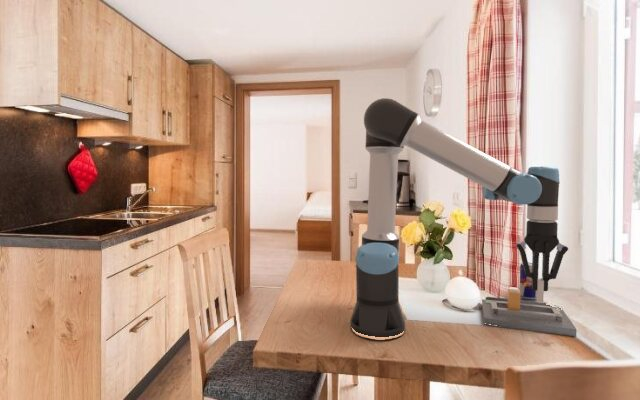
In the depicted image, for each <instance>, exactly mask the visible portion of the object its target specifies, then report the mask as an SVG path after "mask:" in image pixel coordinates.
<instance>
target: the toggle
mask: <svg viewBox="0 0 640 400" xmlns="http://www.w3.org/2000/svg"><path fill="white" fill-rule="evenodd" d="M520 294H521V293H520V289H519V288H518V287H513V286H509V288H507V294H506V295H507V298H506V299H507V308H508V309H517V310H520V300H521V298H520Z"/></svg>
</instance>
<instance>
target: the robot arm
mask: <svg viewBox="0 0 640 400" xmlns="http://www.w3.org/2000/svg"><path fill="white" fill-rule="evenodd" d="M363 124H364V129H365V150H366V151H367V152H368V153H369V174H368V199H367V224H366V226H367V227H366V231H365V232H364V233H362V234H361V245H360V246H359V247H358V248H357V249H356V253H355V258H354V259H355V264H356V265H355V267H356V268H355V269H356V271H355V274H356V276H355V278H356V302H355V304H354V308H353V312H352V314H351V317H350V328H351V327H352V328H353V329H354V330H355V331H356V332H358V333H361V334H364V335H368V336H375V337H389V336H395V335H398V334H400V333H402V332H403V331H404V330H405V331H406V321H405V319H404V316H403V313H402V310H401V306H400V304H399V303H400V302H399V292H400V291H399V264H400V255H399V252H400V251H399V250H400V236H399V235H398V234H397V232H396V230H395V229H396V215H397V214H396V213H397V212H396V211H397V190H398V189H397V187H398V168H399V155H400V153H401V152H403V151H404V147H406V146H407V147H408V148H411V149H412V150H414V151H416V152H417V153H419V154H422V155H423V156H425V157H427V158H429V159H431V160H433V161H435V162H436V163H438V164H440V165H442V166H444V167H446V168H448V169H450V170H452V171H453V172H454V173H457V174H458V175H461V176H463V177H464V178H466V179H468V180H470V181H472V182H474V183H476V184H478V185H479V186H481V192H482V193H481V194H482V196H483V198H484V199H485V200H487V201H488V200H489V201H505V202H510V203H514V204H515V205H520V206H522V205H523V206H524V205H527V207H526V219H527V221H526V229H525V230H526V232H525V237H524V238H523V240H522V241H521V242H516V243H515V246H516V249H518V251H519V255H520V259H521V263H523V267H524V271H525V274H526V276H527V277H530V278H532V288H533V290H536V301H535V302H537V303H544V294H545V293H544V292H547V291H549V281H550V280H556V279H557V276H558V273H559V271H560V268H561V267H560V266H561V264H562V261H563V257H564V255H565V254H566V253H567V252H568V251H569V247H568V246H567V245H565V244H562V243H560V240H559V238H558V225H559V224H558V222H557V221H558V219H559V195H560V194H559V191H560V190H559V188H560V172H559V171H560V170H559V168H558V167H556V166H552V165H551V166H550V165H549V166H548V165H546V166H529V167H528V169H527V172H526V173H524V172H521V171H520V170H517V169H516V168H514V167H511V166H510V165H508V164H506V163H504V162H502V161H501V160H498V159H496V158H495V157H492V156H491V155H489V154H487V153H485V152H483V151H481V150H479V149H478V148H476V147H474V146H473V145H470V144H468V143H466V142H465V141H462V140H460V139H459V138H456V137H454V136H452V135H450V134H449V133H447V132H445V131H443V130H441V129H439V128H437V127H436V126H433V125H432V124H430V123H427V122H425V121H424V120H422V118H421V116H420V114H419V113H417V112H416V111H413V110H411V109H410V108H409V107H407V106H405V105H403V104H402V103H400V102H399V101H397V100H394V99H392V98H386V97H385V98H383V97H382V98H378V99H377V100H374V101H373V102H371V104H369V105H368V107H367V108H366V110H365V112H364V116H363ZM526 246H527V247H528V248H529V250H531V251H532V252H531V253H532V254H531V255H532V260H531V261H532V262H531V263H532V273H531V272H530V269H529V265H528V263H529V262H528V257H527V253H526V250H525V249H526ZM555 248H556V253H555V257H554V259H553V262H552V266H551V268H550V257H551V256H550V255H551V252H553V251H554V249H555ZM540 254H541V255H542V269H541V270H542V271H541V277H542V278H540V277H539V266H540V263H539V262H540V261H539V259H540Z"/></svg>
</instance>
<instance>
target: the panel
mask: <svg viewBox="0 0 640 400" xmlns="http://www.w3.org/2000/svg"><path fill="white" fill-rule="evenodd" d="M481 309H482V317H484V318H483V324H484V323H486V324H491V325H497V326H496V327H498V326H501V327H500V328H507V329H515V330H522V331H530V332H539V333H547V334H554V335H560V336H561V335H562V336H568V337H577V328H576V326H575V325H574V324H573V322H572V320H571V319H570V318H569V316H568V315H567V314H566V312H565V311H564V309H563V308H562V310H561V308H559V307H552V306H542V305H533V304H523V303H520V310H517V309H508V308H507V302H504V301H495V300H486V299H481Z"/></svg>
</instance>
